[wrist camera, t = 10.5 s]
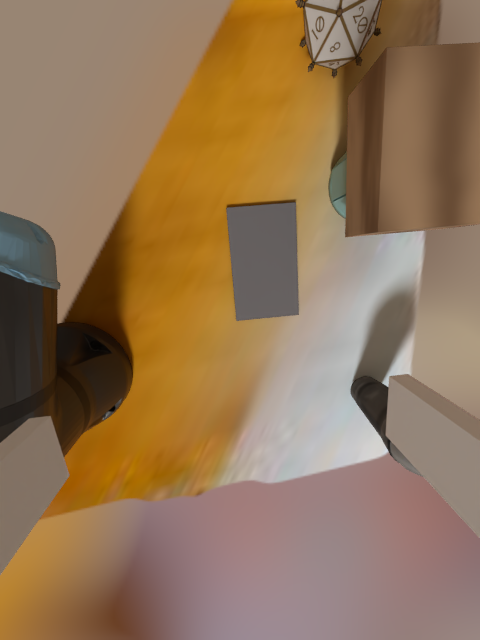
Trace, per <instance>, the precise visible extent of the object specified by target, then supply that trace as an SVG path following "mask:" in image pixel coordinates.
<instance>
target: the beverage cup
mask: <svg viewBox="0 0 480 640" xmlns="http://www.w3.org/2000/svg"><path fill="white" fill-rule="evenodd" d="M388 389H389V388H388V387H387V386H385V385H384V384H382V383H381V382H379V381H377V380H375V379H373V378H371V377H367V376H365V377H361V378H359V379H357V380H356V381H355V382H354V383H353V385H352V387H351V395H352V397H353V398H354V400H355V401H356V403H357V405H358V406H359V408H360V409H361V410H362V412H363V413H364V414H365V416H366V417H367V419H368V420H369V421H370V423H371V424H372V425H373V427H374V428H375V430H376V431H377V432H378V434H379V435H380V436H381V438H382V440H383V442H384V444H385V446H386V448H387V449H388V451H389V453H390V455H391V456H392V457H393V458H394V459H395V460H396V461H397V462H399V463H400V464H401V465H402V466H403V467H405V468H406V469H407V470H409V471H411V472H413V473H415V474H417V475H420V476H422V475H421V474H420V472H419V471H418V470H417V469H416V468H415V467H414V466H413V465H412V464H411V463H410V461H409V460H408V459H407V458H406V457H405V456H404V455H403V454H402V453H401V452H400V451H399V449H398V448H397V447H396V446H395V445H394V444H393V443H392V442H391V441H390V440H389V439H388V437H387V436H386V420H387V405H388Z"/></svg>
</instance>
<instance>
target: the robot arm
mask: <svg viewBox="0 0 480 640" xmlns="http://www.w3.org/2000/svg"><path fill="white" fill-rule="evenodd" d="M57 289H60V283H59V282H58V281H57V268H56V253H55V245H54V242H53V240H52V238H51V237H50V235H49V234H48V233H47V232H46V231H45V230H44V229H43V228H41V227H40V226H38V225H36V224H34V223H33V222H30V221H28V220H25V219H22V218H19V217H16V216H13V215H10V214H7V213H4V212H1V211H0V575H1V573H2V572H3V570H4V569H5V567H6V566H7V565H8V563H9V562H10V560H11V559H12V557H13V556H14V555H15V553H16V552H17V550H18V549H19V547H20V546H21V545H22V543H23V542H24V540H25V539H26V537H27V536H28V534H29V533H30V532H31V530H32V529H33V527H34V525H35V524H36V523H37V521H38V520H39V519H40V517H41V516H42V514H43V513H44V511H45V510H46V509H47V507H48V506H49V504H50V503H51V501H52V500H53V498H54V497H55V496H56V494H57V493H58V491H59V490H60V488H61V487H62V486H63V484H64V483H65V481H66V480H67V478H68V477H69V473H68V469H67V466H66V463H65V460H64V457H65V455H66V454H67V453H68V452H69V450H70V449H71V448H72V446H73V445H74V444H75V443H76V441H77V440H78V439H79V437H80V436H81V435H82V434H83V433H84V432H86V431H87V430H89V429H91V428H92V427H94V426H96V425H97V424H99V423H101V422H102V421H104V420H105V419H107V418H108V417H110V416H111V415H112V414H113V413H114V412H115V411H116V410H117V409H118V408H119V407H120V405H121V404H122V403H123V401H124V400H125V398H126V397H127V395H128V393H129V391H130V388H131V384H132V368H131V364H130V361H129V358H128V356H127V354H126V353H125V351H124V349H123V348H122V347H121V345H120V344H119V343H118V342H117V341H116V340H115V339H114V338H113V337H111V336H110V335H109V334H107V333H106V332H104V331H102V330H100V329H98V328H96V327H93V326H91V325H87V324H83V323H74V322H68V323H60V324H57ZM386 436H387V437H388V439H389V440H390V441H391V442H392V443H393V444H394V445H395V446H396V447H397V448H398V449H399V451H400V452H401V453H402V454H403V455H404V456H405V457H406V458H407V459H408V460H409V461H410V463H411V464H412V465H413V466H414V467H415V468H416V469H417V470H418V471H419V472H420V474H421V475H422V476H423V477H424V478H425V479H426V480H427V481H428V482H429V483H430V484H431V485H432V487H433V488H434V489H435V490H436V491H437V492H438V493H439V494H440V495H441V496H442V497H443V499H444V500H445V501H446V502H447V503H448V504H449V505H450V506H451V507H452V508H453V510H454V511H455V512H456V513H457V514H458V515H459V516H460V517H461V518H462V519H463V521H464V522H465V523H467V525H468V526H469V527H470V528H471V529H472V530H473V531H474V532H475V534H476V535H477V536H478V537H479V538H480V420H479V419H478V418H476V417H475V416H473V415H471V414H470V413H468V412H467V411H465V410H464V409H462V408H460V407H459V406H457V405H456V404H454V403H453V402H451V401H449V400H448V399H446V398H445V397H443V396H441V395H440V394H438V393H437V392H435V391H434V390H432V389H430V388H429V387H427V386H426V385H424V384H422V383H421V382H419V381H418V380H416V379H415V378H413V377H412V376H410V375H408V374H405V375H397V376H389V389H388V405H387V420H386Z"/></svg>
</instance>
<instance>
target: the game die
mask: <svg viewBox="0 0 480 640" xmlns="http://www.w3.org/2000/svg"><path fill="white" fill-rule="evenodd" d="M295 2H296V4H297V6H298V7H300V8H301V7H303V11H304V27H305V40H303V41H301V43H300V46H301V47H302V48H303V46H305V45H307V48H308V51H309V54H310V57H311V60H312V63H311V64H310V66H308V72H310V71H312V69H313V68H314V65H315V64H316V65H319V66H323V67H327V68H330V69H333V72H332V73H333V74H332V76H333V78H335V76H336V75H337V68H339V67H341V66H343V65H345V64H347V63H349V62H351V61H353V60H355V59H356V63H357V65H360V66H361V62H362V59H361V57H359V55H360V53H361V52H362V50H363V49H364V47H365V45H366V44H367V42H368V41H369V39H370V38H371V36H372V35H373V33H374V35H376V36H378V35H380V34H381V31H380V29H378V28H377V29H376V24H377V20H378V15H379V11H380V7H381V3H382V0H306V1H305V2H304V1H303V0H297V1H295Z"/></svg>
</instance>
